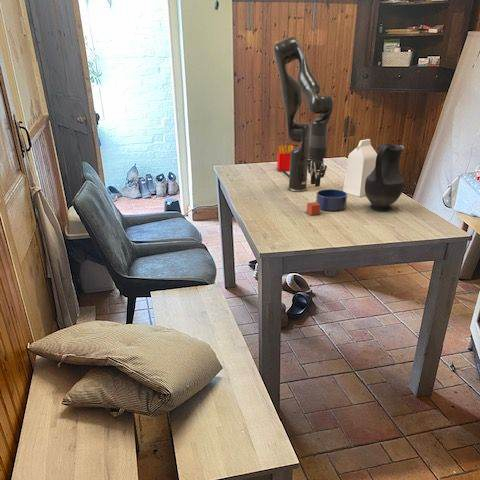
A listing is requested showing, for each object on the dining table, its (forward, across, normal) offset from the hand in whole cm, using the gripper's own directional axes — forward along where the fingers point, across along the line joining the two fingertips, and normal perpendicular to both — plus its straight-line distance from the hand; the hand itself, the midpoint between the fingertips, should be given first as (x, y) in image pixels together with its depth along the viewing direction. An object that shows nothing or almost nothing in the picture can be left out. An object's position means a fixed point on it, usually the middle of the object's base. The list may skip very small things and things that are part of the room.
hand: (315, 185), depth 223 cm
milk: (+13, -21, +39) cm, 46 cm away
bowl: (+13, -5, +12) cm, 19 cm away
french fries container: (+13, -78, +25) cm, 83 cm away
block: (+13, 0, 0) cm, 13 cm away
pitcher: (+13, +7, +32) cm, 35 cm away
